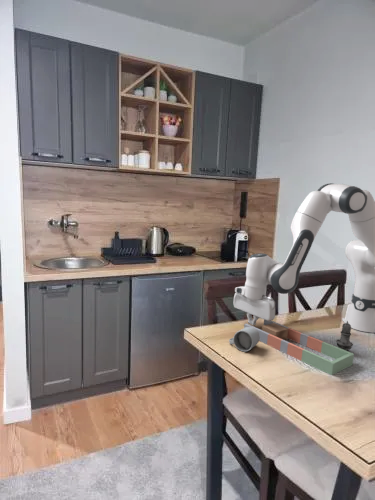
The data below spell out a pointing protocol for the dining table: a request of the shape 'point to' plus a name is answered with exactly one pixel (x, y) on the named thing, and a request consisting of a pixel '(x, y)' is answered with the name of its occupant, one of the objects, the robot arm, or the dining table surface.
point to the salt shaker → (345, 338)
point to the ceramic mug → (245, 339)
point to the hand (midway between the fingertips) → (251, 324)
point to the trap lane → (323, 364)
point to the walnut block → (276, 330)
